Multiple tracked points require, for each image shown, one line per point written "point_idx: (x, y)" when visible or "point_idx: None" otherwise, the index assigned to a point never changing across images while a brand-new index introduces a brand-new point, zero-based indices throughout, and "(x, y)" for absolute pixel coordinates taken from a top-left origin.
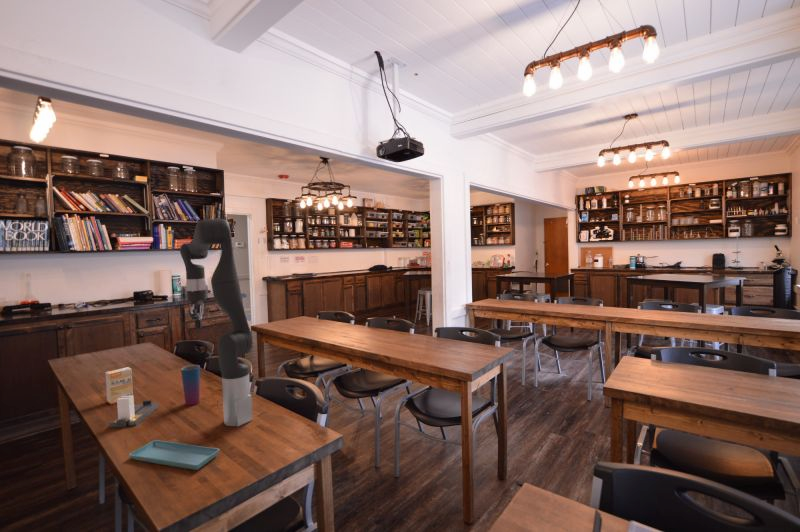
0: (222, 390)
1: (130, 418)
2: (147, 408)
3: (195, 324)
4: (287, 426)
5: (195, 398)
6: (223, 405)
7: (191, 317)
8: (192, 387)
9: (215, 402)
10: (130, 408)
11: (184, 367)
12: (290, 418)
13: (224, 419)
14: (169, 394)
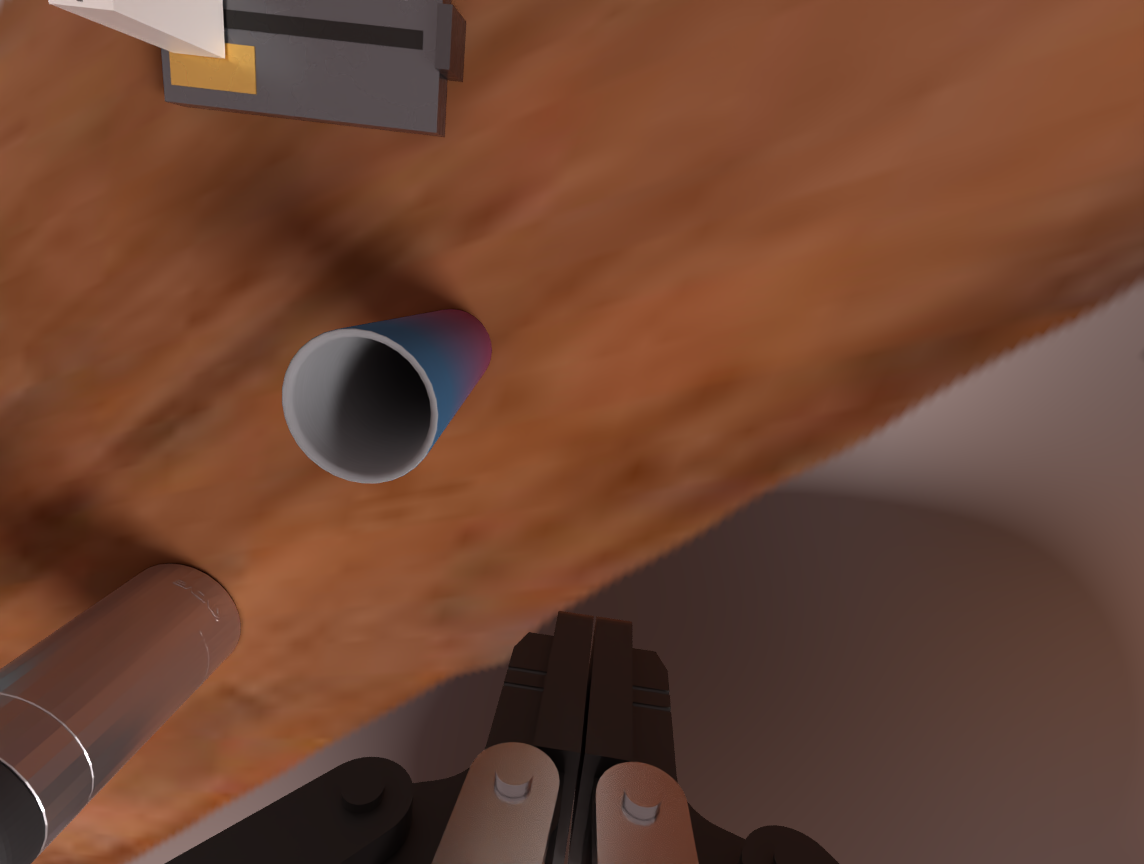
0: (15, 667)
1: (172, 50)
2: (352, 88)
3: (503, 686)
4: (116, 786)
5: (413, 382)
6: (75, 618)
7: (237, 831)
8: (368, 390)
9: (432, 478)
10: (130, 31)
11: (389, 345)
12: (184, 798)
13: (129, 580)
14: (674, 126)
